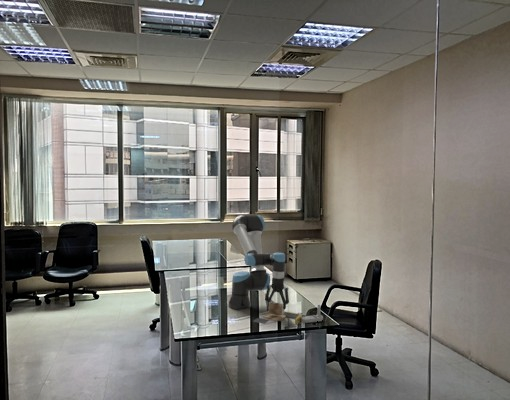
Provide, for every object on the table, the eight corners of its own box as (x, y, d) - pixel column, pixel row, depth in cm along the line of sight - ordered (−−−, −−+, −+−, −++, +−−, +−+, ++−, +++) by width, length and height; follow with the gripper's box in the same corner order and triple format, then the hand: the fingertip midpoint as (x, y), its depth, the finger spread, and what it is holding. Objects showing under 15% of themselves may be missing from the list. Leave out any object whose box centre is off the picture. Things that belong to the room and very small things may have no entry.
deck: (263, 318, 254) (263, 316, 254) (269, 313, 265) (269, 311, 265) (294, 324, 246) (295, 322, 246) (300, 319, 256) (300, 317, 256)
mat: (252, 322, 246) (252, 321, 246) (257, 318, 254) (257, 317, 254) (264, 324, 243) (264, 323, 243) (269, 320, 251) (269, 320, 251)
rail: (263, 318, 254) (263, 312, 254) (269, 313, 265) (269, 308, 264) (296, 324, 246) (297, 319, 246) (301, 319, 256) (302, 314, 256)
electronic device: (300, 305, 254) (320, 303, 260) (299, 321, 255) (320, 318, 260) (304, 308, 249) (325, 306, 255) (303, 323, 250) (324, 321, 255)
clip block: (268, 313, 254) (269, 303, 254) (271, 311, 259) (272, 301, 259) (280, 315, 251) (281, 305, 251) (283, 313, 256) (283, 303, 256)
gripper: (260, 276, 255) (258, 311, 256) (292, 280, 247) (290, 317, 248) (265, 274, 262) (263, 308, 263) (295, 278, 254) (293, 314, 255)
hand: (276, 312), depth 255 cm, fingers closed on clip block, 8 cm apart
